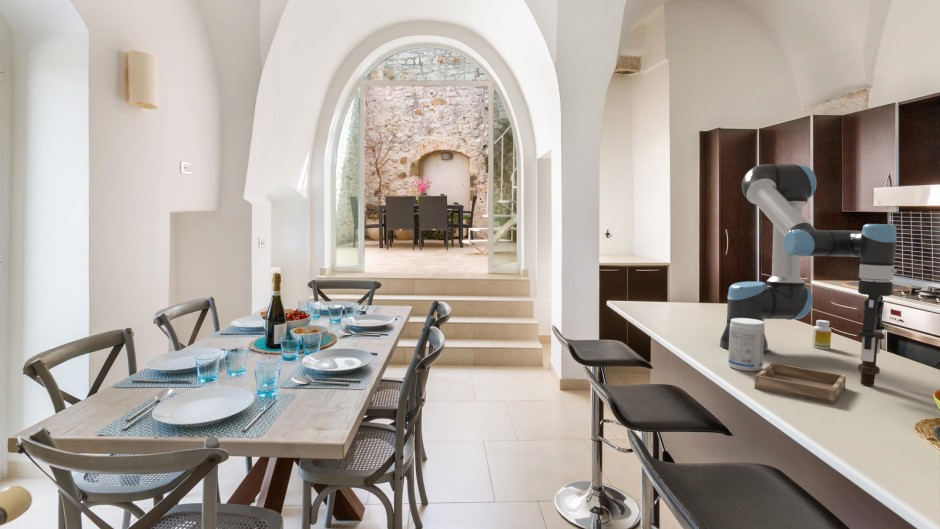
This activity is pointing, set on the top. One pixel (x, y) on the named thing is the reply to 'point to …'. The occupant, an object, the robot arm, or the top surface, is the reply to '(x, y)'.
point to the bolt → (870, 364)
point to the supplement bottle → (822, 335)
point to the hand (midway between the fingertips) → (870, 356)
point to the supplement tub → (746, 344)
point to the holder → (801, 382)
